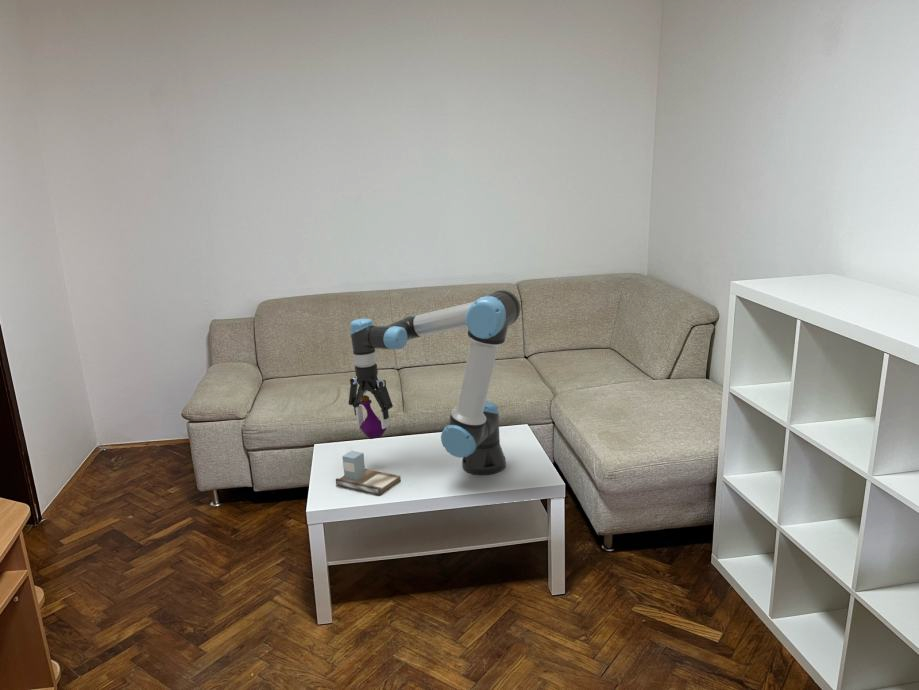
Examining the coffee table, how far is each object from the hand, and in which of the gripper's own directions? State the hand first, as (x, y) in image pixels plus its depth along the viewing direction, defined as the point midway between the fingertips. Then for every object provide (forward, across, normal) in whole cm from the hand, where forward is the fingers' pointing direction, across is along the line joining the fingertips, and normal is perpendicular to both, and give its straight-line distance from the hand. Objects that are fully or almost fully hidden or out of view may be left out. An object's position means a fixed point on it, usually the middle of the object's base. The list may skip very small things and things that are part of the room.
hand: (372, 425), depth 250 cm
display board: (+16, -5, +12) cm, 20 cm away
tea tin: (+14, 0, +13) cm, 19 cm away
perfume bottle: (+4, 0, 0) cm, 4 cm away
